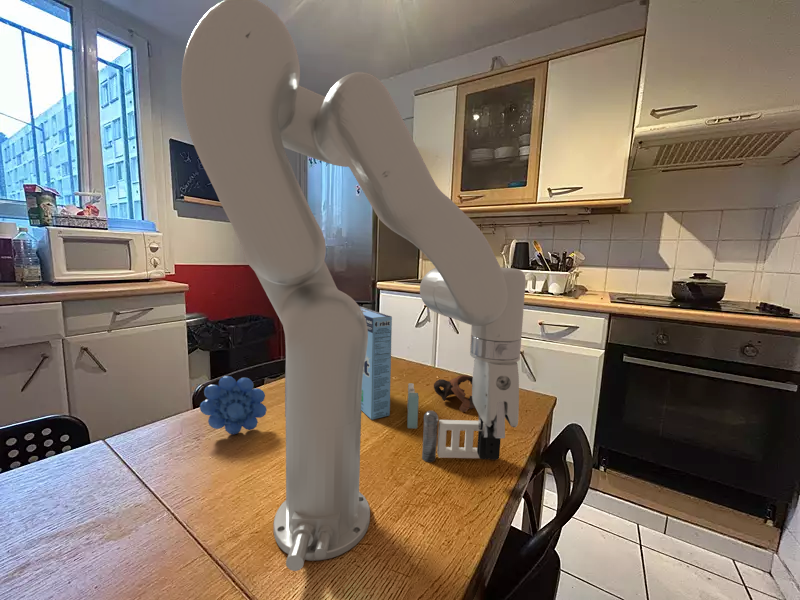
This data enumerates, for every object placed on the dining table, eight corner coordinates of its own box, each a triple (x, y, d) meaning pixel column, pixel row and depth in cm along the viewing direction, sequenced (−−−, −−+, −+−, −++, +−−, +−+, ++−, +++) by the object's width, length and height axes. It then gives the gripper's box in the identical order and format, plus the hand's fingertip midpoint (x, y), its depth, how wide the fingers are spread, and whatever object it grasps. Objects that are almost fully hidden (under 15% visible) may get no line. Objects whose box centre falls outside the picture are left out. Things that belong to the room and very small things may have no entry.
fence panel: (414, 423, 74) (415, 397, 73) (409, 423, 74) (410, 397, 73) (412, 407, 82) (413, 383, 81) (407, 407, 82) (408, 383, 81)
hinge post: (436, 462, 60) (439, 414, 59) (422, 462, 60) (424, 414, 59) (435, 454, 63) (437, 408, 62) (420, 453, 63) (423, 407, 62)
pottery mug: (471, 396, 91) (484, 376, 86) (474, 427, 83) (489, 406, 79) (428, 384, 90) (439, 363, 85) (427, 414, 82) (439, 392, 78)
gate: (438, 459, 61) (440, 423, 60) (437, 455, 62) (439, 419, 61) (499, 461, 61) (502, 425, 60) (496, 456, 63) (499, 421, 62)
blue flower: (200, 452, 61) (197, 387, 59) (201, 434, 66) (198, 375, 65) (270, 437, 66) (269, 378, 65) (265, 422, 72) (264, 367, 70)
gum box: (390, 416, 77) (393, 316, 74) (369, 421, 74) (372, 317, 71) (354, 386, 93) (356, 303, 90) (337, 389, 91) (338, 304, 88)
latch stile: (417, 428, 72) (418, 396, 71) (407, 428, 72) (409, 396, 71) (416, 423, 74) (417, 392, 73) (407, 423, 74) (408, 392, 73)
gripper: (539, 363, 46) (528, 487, 48) (503, 336, 61) (496, 432, 63) (484, 362, 46) (476, 487, 48) (461, 335, 60) (456, 432, 63)
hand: (487, 456), depth 56 cm, fingers closed
